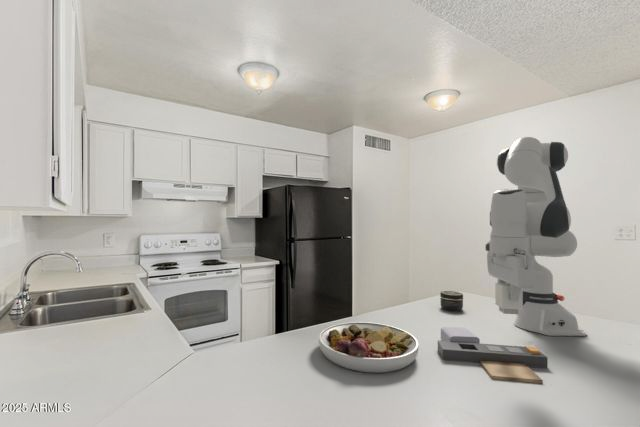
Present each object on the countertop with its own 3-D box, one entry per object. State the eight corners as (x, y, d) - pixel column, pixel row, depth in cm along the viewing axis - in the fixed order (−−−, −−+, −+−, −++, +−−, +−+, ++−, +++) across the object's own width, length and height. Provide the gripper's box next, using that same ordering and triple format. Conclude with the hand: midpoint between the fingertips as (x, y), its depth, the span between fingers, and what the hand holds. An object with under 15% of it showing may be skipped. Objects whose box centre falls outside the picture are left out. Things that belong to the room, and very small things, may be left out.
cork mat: (525, 367, 87) (525, 364, 87) (542, 383, 78) (542, 380, 79) (479, 363, 89) (479, 360, 89) (491, 378, 80) (491, 375, 80)
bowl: (334, 331, 114) (335, 310, 115) (420, 343, 104) (420, 319, 105) (303, 366, 86) (303, 338, 86) (416, 387, 76) (416, 355, 76)
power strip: (534, 357, 94) (534, 344, 94) (547, 368, 87) (547, 354, 87) (437, 349, 98) (437, 337, 98) (442, 359, 91) (442, 346, 91)
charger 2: (514, 310, 86) (514, 283, 86) (522, 315, 82) (522, 286, 82) (495, 309, 87) (495, 282, 87) (502, 314, 83) (502, 285, 83)
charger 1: (460, 335, 113) (479, 352, 98) (434, 334, 113) (449, 351, 98) (460, 321, 113) (479, 337, 98) (434, 321, 113) (449, 336, 98)
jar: (443, 305, 153) (443, 289, 154) (465, 308, 148) (465, 292, 148) (437, 309, 145) (437, 293, 145) (460, 313, 139) (460, 296, 140)
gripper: (542, 251, 74) (542, 309, 74) (505, 245, 94) (505, 290, 94) (513, 250, 75) (513, 307, 75) (483, 244, 95) (483, 289, 95)
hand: (508, 298), depth 85 cm, fingers closed on charger 2, 4 cm apart
